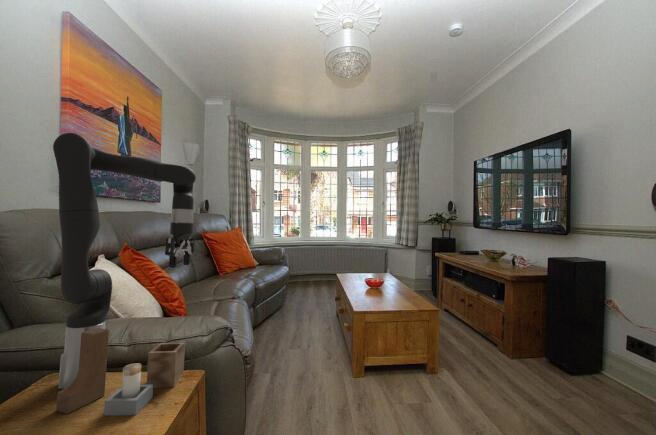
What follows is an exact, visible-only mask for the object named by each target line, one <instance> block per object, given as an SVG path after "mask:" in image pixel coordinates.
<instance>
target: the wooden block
mask: <svg viewBox="0 0 656 435" xmlns="http://www.w3.org/2000/svg"><path fill="white" fill-rule="evenodd" d="M109 332H110V330H109V329H106V328H105V329H101V328H96V329H92V330H89V331H85V332H82V333H81V344H80V358H79V370H78V373H77V377H76V379H75V380H74V381H73V382H72V383H71V385H70V386H68V387H67V388H65V389H60V391H58V392H57V395H56V404H55V405H56V407H55V408H56V411H58V412H61V413H63V414H67V415H68V414H70V413H72V412H74V411H76V410H78V409H80V408H82V407H84V406H86V405H88V404H90V403H92V402H94V401H96V400H98V399H101V398H102V397H104V396H105V393H106V379H107V366H108V365H107V364H108V362H107V361H108V348H109V346H108V345H109Z"/></svg>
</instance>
